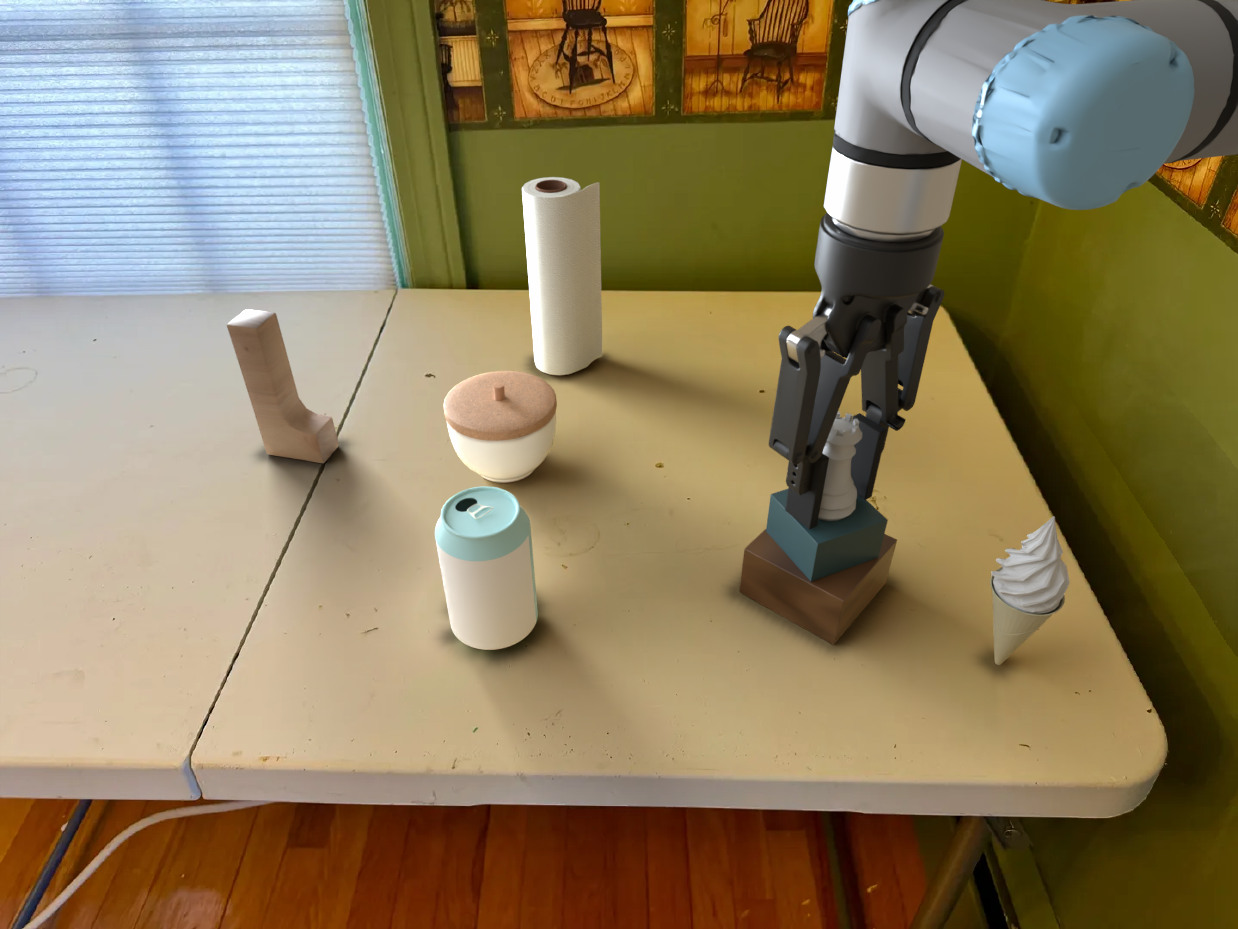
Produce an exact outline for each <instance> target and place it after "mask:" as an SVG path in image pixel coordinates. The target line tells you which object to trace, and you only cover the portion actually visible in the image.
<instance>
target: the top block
mask: <svg viewBox="0 0 1238 929" xmlns="http://www.w3.org/2000/svg"><path fill="white" fill-rule="evenodd" d="M787 494H788V488H786V489H781V490H778V491H776V492H774V493H770V498H769V504H768V511H767V512H768V513H767V519H766V527H765V529H766V532H767V533H768V534H769V535H770V536H771V537H772V539H773V540H774V541H775V542H776V543H777V544H778V545H779V546H780V548H781V549H782V550H783V551H784V552H785V553H786V554H787V555H788V557H789V558H790V559H791V560H792V561H793V562H794V563H795V564H796V566H797V567H798V568H799V569H800V570H801V571H802V572H803V573H804V575H805V576H806V577H807V578H808V579H809V580H810V581H811V582H812V581H815V580H818V579H820V578H823V577H826V576H829V575H831V574H834V573H837V572H840V571H842V570H845V569H848V568H851V567H853V566H856V565H859V564H862V563H864V562H867V561H870V560H873V559H876V558H878V557H879V554H880V550H881V546H882V542H883V538H884V534H886V529H887V524H888V521H889V519H887V517H885V516H884V515H883V514H882V513H881V512H880V511H879V510H878V509H877V508H876V507H874V505H872V503H870V502H869V501H868V499H866V500H864V499H862V498H861V497H860V496H858V495H857V498H856V508H855V510H854V511H853V512H852V513H851V514H850V515H849V516H847V517H845V518H843V519H840V520H836V521H826V520H820V519H818V522H817V526H816V527H814V528H812V529H808V528H807V527H806V526H804V525H803V524H802V523H801V522H799V521H798V520H797V519H795V518H794V517H793V516H792V515H790V514H789V513H788V512H786V511H785V507H786V500H787Z"/></svg>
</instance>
